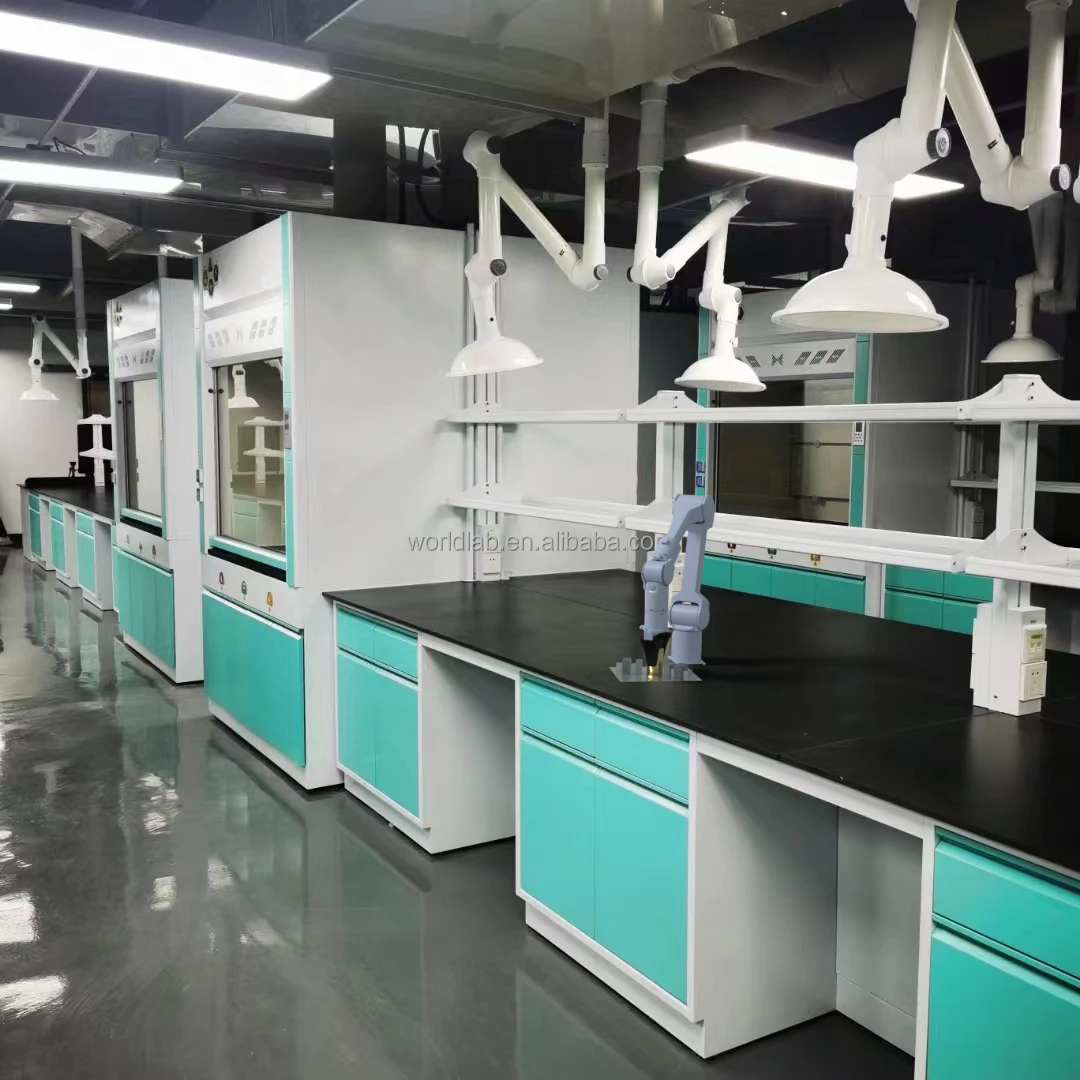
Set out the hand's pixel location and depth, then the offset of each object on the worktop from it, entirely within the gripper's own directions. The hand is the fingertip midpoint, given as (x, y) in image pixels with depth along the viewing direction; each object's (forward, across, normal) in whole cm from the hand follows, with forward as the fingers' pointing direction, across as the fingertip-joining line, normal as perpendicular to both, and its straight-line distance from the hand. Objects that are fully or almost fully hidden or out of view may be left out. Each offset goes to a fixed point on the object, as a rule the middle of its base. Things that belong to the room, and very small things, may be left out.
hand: (655, 663), depth 252 cm
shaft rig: (+3, 0, 0) cm, 3 cm away
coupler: (+3, 0, 0) cm, 3 cm away
